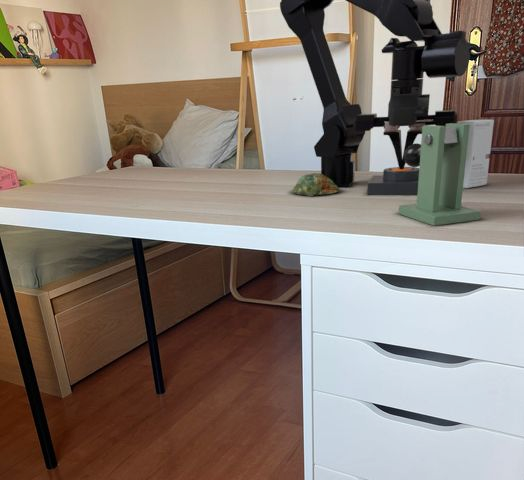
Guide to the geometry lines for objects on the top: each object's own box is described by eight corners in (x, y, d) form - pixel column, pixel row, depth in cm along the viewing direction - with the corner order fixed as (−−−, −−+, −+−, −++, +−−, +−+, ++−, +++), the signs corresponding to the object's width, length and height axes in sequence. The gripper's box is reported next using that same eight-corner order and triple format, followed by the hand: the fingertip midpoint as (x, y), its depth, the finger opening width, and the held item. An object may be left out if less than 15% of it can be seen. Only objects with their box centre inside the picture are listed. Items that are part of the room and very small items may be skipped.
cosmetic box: (468, 188, 103) (475, 121, 97) (449, 186, 106) (455, 121, 101) (488, 184, 106) (496, 119, 100) (469, 182, 109) (476, 118, 104)
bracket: (398, 213, 86) (403, 125, 80) (440, 208, 88) (448, 122, 82) (433, 225, 77) (442, 128, 72) (479, 219, 79) (492, 124, 74)
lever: (401, 170, 87) (398, 148, 87) (420, 168, 88) (417, 146, 87) (441, 148, 76) (437, 122, 76) (462, 146, 77) (459, 121, 77)
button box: (367, 194, 103) (368, 173, 101) (372, 186, 111) (373, 166, 109) (431, 194, 99) (433, 172, 98) (432, 185, 108) (433, 165, 106)
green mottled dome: (343, 166, 109) (331, 174, 101) (344, 187, 111) (333, 196, 102) (296, 171, 113) (282, 178, 104) (298, 191, 114) (284, 200, 106)
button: (390, 179, 103) (390, 170, 102) (391, 176, 106) (392, 167, 106) (411, 179, 102) (411, 170, 101) (412, 176, 105) (412, 167, 105)
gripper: (349, 82, 92) (348, 175, 99) (463, 76, 87) (452, 174, 94) (358, 82, 102) (355, 167, 109) (460, 76, 97) (451, 165, 104)
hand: (401, 168), depth 103 cm, fingers closed, pressing on button
